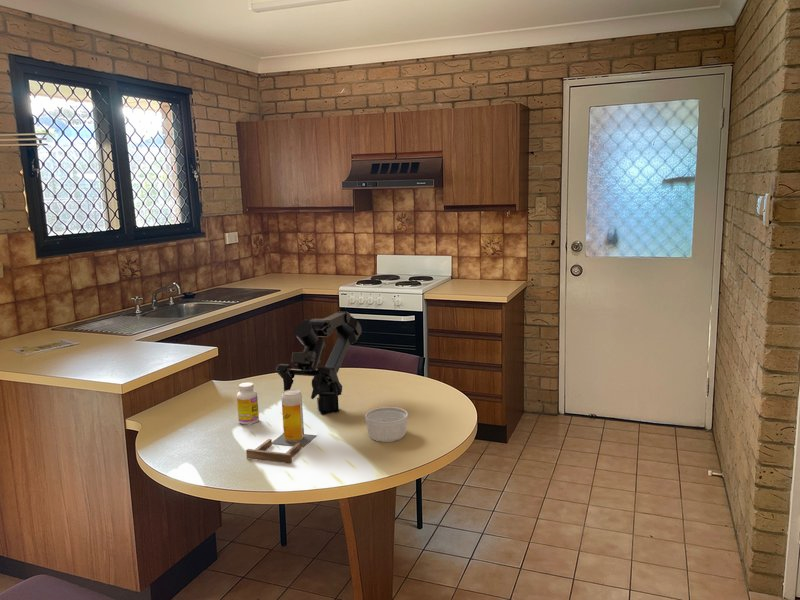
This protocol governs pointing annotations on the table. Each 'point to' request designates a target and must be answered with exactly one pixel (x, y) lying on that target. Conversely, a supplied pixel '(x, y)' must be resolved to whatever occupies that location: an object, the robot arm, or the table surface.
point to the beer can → (292, 415)
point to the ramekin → (386, 423)
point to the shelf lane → (273, 453)
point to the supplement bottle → (247, 404)
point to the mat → (304, 441)
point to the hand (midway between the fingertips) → (298, 397)
